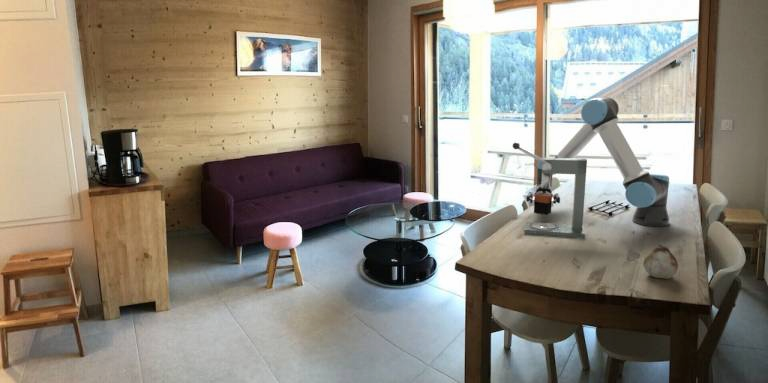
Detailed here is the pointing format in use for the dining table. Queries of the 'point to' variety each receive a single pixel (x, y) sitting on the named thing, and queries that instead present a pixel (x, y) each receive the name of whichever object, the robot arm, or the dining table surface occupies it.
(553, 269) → the dining table surface
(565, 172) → the arbor press
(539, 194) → the battery
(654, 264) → the fruit
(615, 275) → the dining table surface
